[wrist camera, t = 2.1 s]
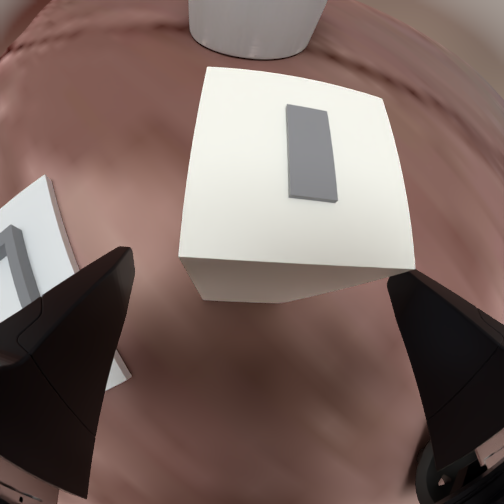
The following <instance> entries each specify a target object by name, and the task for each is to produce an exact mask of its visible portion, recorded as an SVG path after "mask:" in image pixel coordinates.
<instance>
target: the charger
mask: <svg viewBox="0 0 504 504" xmlns="http://www.w3.org/2000/svg"><path fill="white" fill-rule="evenodd" d="M178 257H179V258H180V260H181V262H182V264H183V266H184V268H185V269H186V271H187V273H188V275H189V277H190V278H191V280H192V282H193V284H194V285H195V287H196V289H197V291H198V292H199V294H200V296H201V298H202V299H203V300H210V301H229V302H252V303H285V302H290V301H295V300H299V299H303V298H308V297H312V296H316V295H320V294H325V293H329V292H333V291H337V290H341V289H345V288H349V287H353V286H357V285H360V284H364V283H368V282H372V281H376V280H379V279H383V278H386V277H390V276H394V275H397V274H401V273H404V272H407V271H411V270H414V269H415V258H414V247H413V238H412V230H411V222H410V215H409V208H408V202H407V196H406V191H405V185H404V180H403V175H402V170H401V166H400V161H399V157H398V153H397V149H396V145H395V141H394V137H393V133H392V130H391V126H390V123H389V119H388V116H387V113H386V109H385V106H384V103H383V100H382V98H379V97H375V96H372V95H369V94H366V93H362V92H359V91H355V90H352V89H348V88H344V87H341V86H337V85H333V84H328V83H324V82H320V81H315V80H310V79H305V78H300V77H295V76H289V75H283V74H277V73H270V72H262V71H254V70H245V69H234V68H220V67H207V71H206V75H205V80H204V85H203V89H202V94H201V99H200V104H199V110H198V115H197V120H196V126H195V132H194V137H193V143H192V150H191V156H190V163H189V169H188V176H187V184H186V191H185V199H184V207H183V216H182V225H181V234H180V245H179V256H178Z"/></svg>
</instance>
